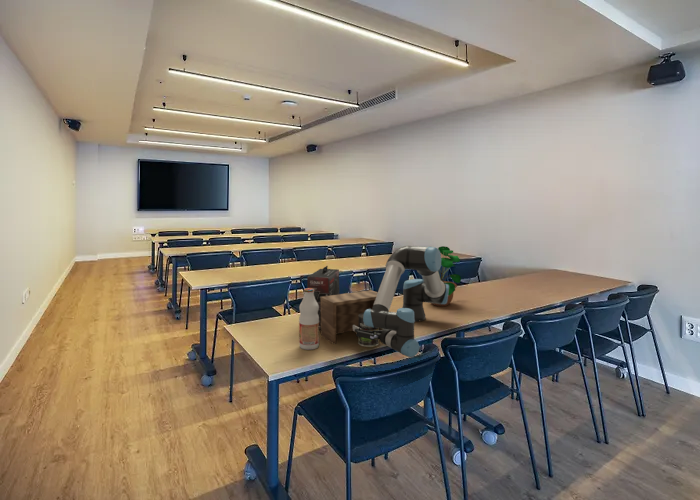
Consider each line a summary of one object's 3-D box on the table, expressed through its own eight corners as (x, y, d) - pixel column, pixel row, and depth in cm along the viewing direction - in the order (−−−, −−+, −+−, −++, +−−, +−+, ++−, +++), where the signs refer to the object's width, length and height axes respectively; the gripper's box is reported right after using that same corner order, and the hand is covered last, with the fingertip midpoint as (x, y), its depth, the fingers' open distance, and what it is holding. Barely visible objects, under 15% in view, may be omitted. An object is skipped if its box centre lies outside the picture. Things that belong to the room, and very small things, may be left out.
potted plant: (434, 312, 243) (436, 250, 239) (415, 301, 271) (417, 245, 266) (477, 309, 251) (480, 249, 246) (455, 298, 279) (457, 244, 274)
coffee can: (376, 348, 182) (376, 319, 181) (355, 345, 185) (355, 317, 184) (381, 340, 192) (381, 313, 191) (361, 338, 195) (361, 311, 194)
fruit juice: (308, 351, 177) (308, 292, 174) (295, 346, 184) (294, 289, 180) (323, 346, 184) (323, 288, 181) (310, 341, 191) (309, 285, 187)
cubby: (370, 326, 215) (371, 290, 212) (384, 333, 203) (385, 295, 201) (320, 335, 199) (320, 296, 197) (333, 343, 188) (333, 302, 185)
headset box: (329, 331, 205) (329, 270, 201) (306, 330, 208) (306, 269, 204) (340, 318, 229) (340, 263, 225) (319, 317, 231) (319, 262, 227)
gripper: (367, 351, 167) (343, 337, 185) (412, 341, 180) (385, 328, 198) (368, 335, 166) (343, 321, 184) (412, 325, 179) (385, 314, 197)
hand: (365, 325), depth 191 cm, fingers open, 13 cm apart
